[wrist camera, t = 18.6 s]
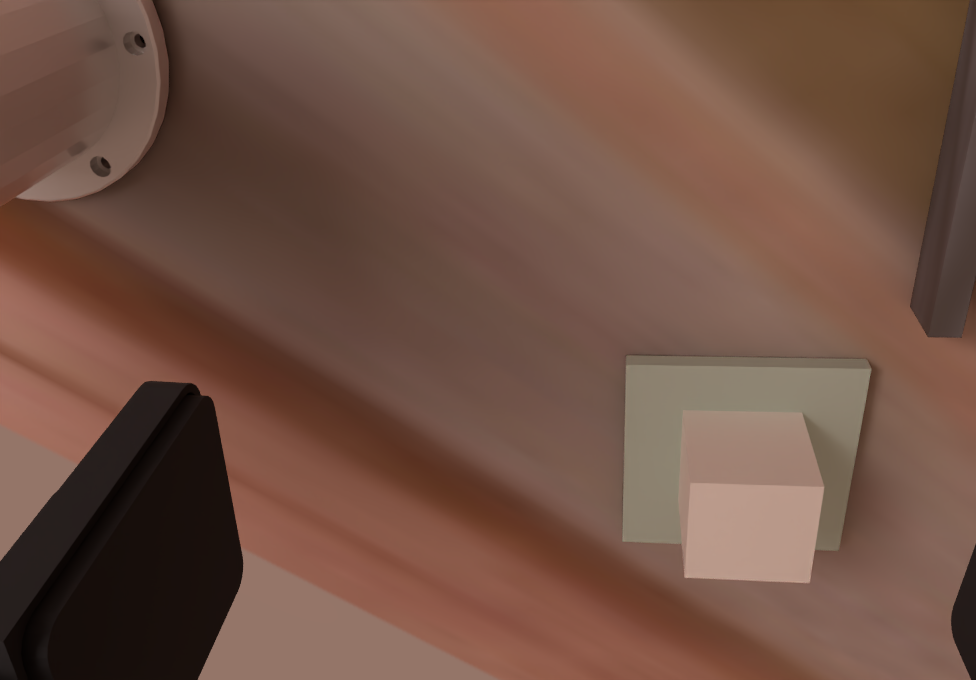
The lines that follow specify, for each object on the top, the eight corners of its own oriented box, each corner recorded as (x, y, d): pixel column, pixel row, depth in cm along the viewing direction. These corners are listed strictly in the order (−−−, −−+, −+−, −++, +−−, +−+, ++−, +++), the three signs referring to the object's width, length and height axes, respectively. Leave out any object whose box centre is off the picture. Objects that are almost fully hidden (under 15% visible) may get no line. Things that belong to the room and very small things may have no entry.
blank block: (678, 499, 42) (684, 577, 38) (682, 410, 39) (690, 482, 35) (790, 503, 41) (809, 583, 37) (802, 412, 39) (824, 486, 34)
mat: (622, 530, 44) (622, 541, 44) (626, 354, 39) (626, 364, 39) (835, 539, 43) (838, 551, 42) (866, 358, 38) (871, 368, 37)
